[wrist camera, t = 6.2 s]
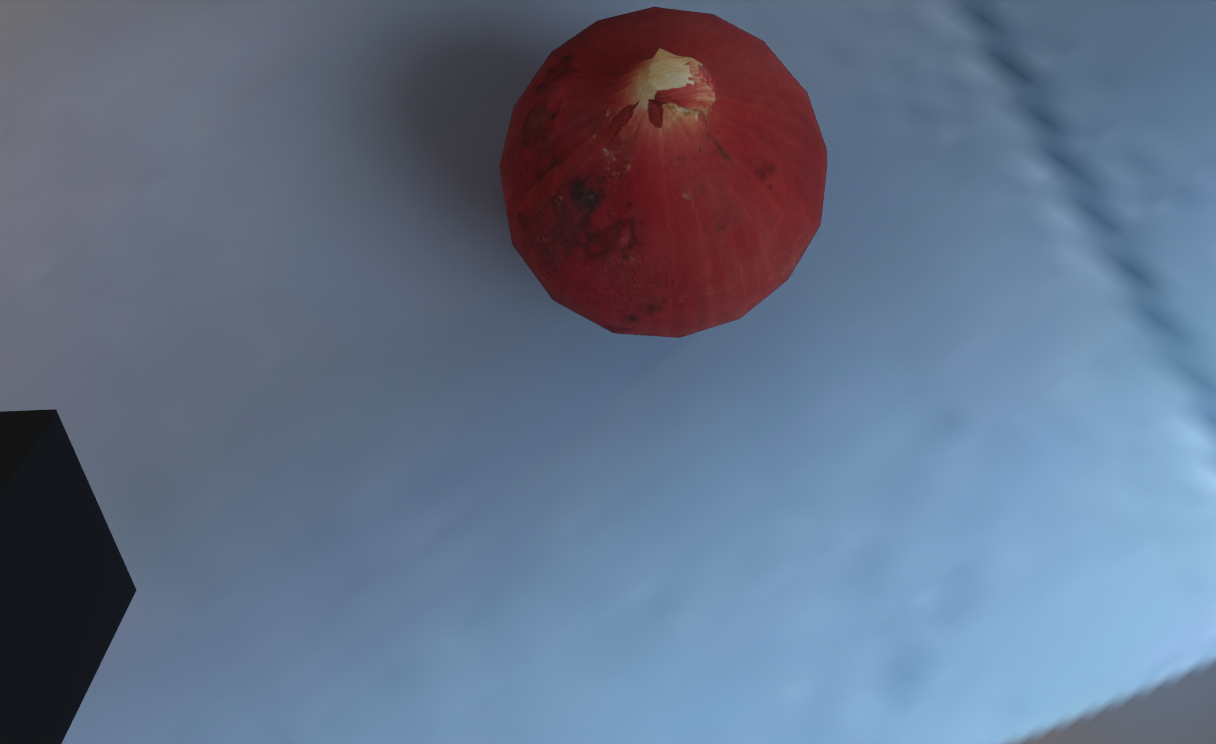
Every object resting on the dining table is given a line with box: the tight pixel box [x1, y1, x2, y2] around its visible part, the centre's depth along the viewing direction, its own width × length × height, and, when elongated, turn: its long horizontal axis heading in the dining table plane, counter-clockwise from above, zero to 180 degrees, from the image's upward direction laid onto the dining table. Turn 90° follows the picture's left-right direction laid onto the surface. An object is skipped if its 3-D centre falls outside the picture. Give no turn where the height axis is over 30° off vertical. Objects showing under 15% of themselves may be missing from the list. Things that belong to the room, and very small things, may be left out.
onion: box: [500, 7, 827, 338], centre depth 20 cm, size 6×6×8 cm
